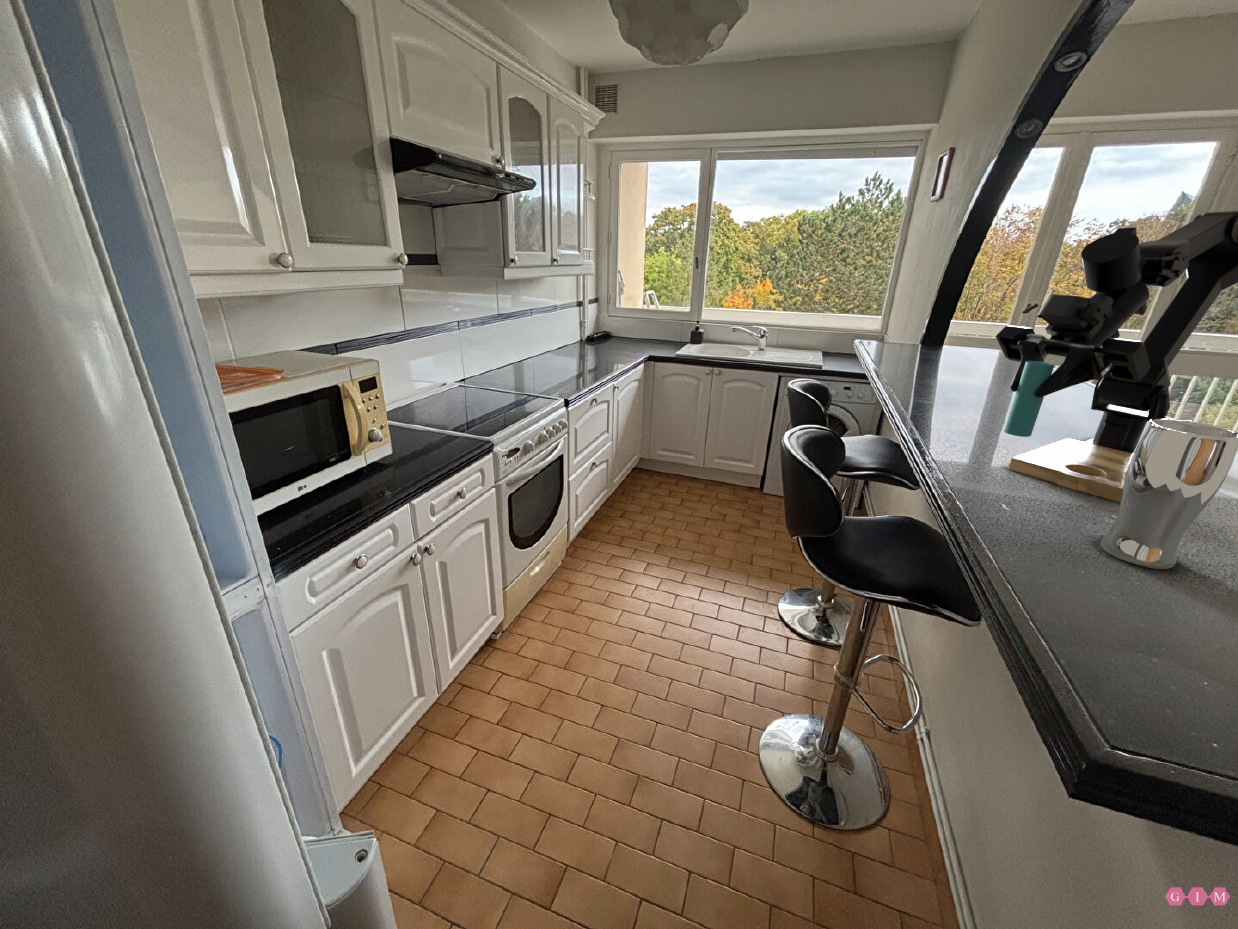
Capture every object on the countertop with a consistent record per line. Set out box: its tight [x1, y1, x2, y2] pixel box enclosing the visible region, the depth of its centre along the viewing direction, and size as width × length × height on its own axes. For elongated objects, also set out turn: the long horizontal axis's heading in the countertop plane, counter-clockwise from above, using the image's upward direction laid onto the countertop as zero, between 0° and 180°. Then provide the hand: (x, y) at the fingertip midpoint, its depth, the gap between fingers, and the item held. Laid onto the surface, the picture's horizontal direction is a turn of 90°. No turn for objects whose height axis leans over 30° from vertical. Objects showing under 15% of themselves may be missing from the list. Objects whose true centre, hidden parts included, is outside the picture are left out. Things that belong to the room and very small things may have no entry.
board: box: [1008, 438, 1133, 504], centre depth 79 cm, size 20×14×2 cm
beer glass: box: [1100, 418, 1238, 570], centre depth 54 cm, size 7×7×15 cm
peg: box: [1003, 361, 1056, 438], centre depth 77 cm, size 3×3×11 cm
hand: (1024, 392), depth 76 cm, fingers closed on peg, 3 cm apart
